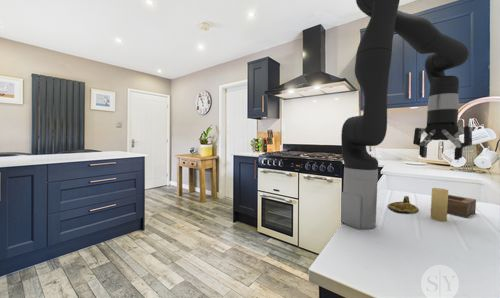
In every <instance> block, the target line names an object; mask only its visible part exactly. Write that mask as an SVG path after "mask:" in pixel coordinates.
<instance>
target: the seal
mask: <svg viewBox="0 0 500 298" xmlns="http://www.w3.org/2000/svg"><path fill="white" fill-rule="evenodd" d="M409 197H410V196H409V195H408V196H407V195H404V197H403V199H402V200H403V201H394V202H391V203H389V204H387V208H389V210H390V211H391V212H394V213H397V214H404V215H405V214H406V215H412V214H413V215H414V214H417V213H419V211H420V210H419V208H418V207H417V205H415V204H412V203H411V202H410V198H409Z"/></svg>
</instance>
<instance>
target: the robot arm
mask: <svg viewBox="0 0 500 298" xmlns="http://www.w3.org/2000/svg"><path fill="white" fill-rule="evenodd" d="M400 1H401V0H355V3H356V6H357V7H358V8H359V10H360V11H361V12H362V13H363V14H364V15H365V16H368V17H370V19H369V22H368V24H367V27H366V28H365V30H364V32H363V34H362V37H361V39H360V42H359V43H358V47H357V50H356V55H355V63H354V76H355V79H356V80H357V83H358V85H359V86H360V89H361V91H362V93H363V97H364V98H363V99H364V105H363V111H362V112H363V114H362V115H356V116H350V117H348V118H346V120H345V121H344V123H343V124H342V127H341V136H340V137H341V157H342V160H343V163H344V165H343V167H344V168H343V190H342V191H341V201H340V202H341V203H340V204H341V206H340V209H341V211H340V222H341V223H343V222H344V223H343V224H345V225H347V226H350V227H353V228H354V229H355V228H356V229H357V230H360V229H365V230H366V229H374V228H376V225H377V202H378V201H377V200H378V182H379V181H378V178H379V161H378V159H377V158H375V157H374V156H372V155H371V154H369V152H368V149H367V147H376V146H379V145H380V144H382V143H383V141H384V140H385V139H386V136H387V135H386V134H387V129H388V89H389V88H388V87H389V78H390V77H389V76H390V70H391V64H392V63H391V62H392V56H393V55H392V54H393V40H394V34H397V35H398V36H399V37H401V39H403V40H404V41H406V43H407V44H408V45H409V46H411V48H413V49H414V50H415V52H417V53H418V54H420V55H427V54H428V55H427V57H426V59H425V60H424V70H425V72H426V76H427V80H428V83H429V93H428V94H429V95H428V102H427V110H426V111H427V113H426V127H423V128H422V127H415V129H414V135H413V140H412V141H413V145H416V146H419V151H418V152H419V153H418V154H419V156H420V157H421V158H426V157H427V146H428V144H430V143H431V142H432V141H450V142H451V143H452V144H453V145H454V146H455V147H454V155H453V156H454V158H453V159H454V160H455V161H459V160H460V159H462V157H463V155H464V154H463V153H464V152H463V149H464V148H465V147H470V146H472V145H473V131H472V130H473V128H472V126H471V125H470V126H469V125H466V126H458V123H459V122H458V121H459V108H460V103H459V102H460V101H459V89H460V88H459V87H460V80H459V77H458V76H457V75H446V74H445V71H447V70H449V69H453V68H458V67H459V66H462V65H463V64H465V63H466V62H467V60H468V58H469V56H470V52H469V48H468V47H467V45H466V44H464V43H463V42H462V41H460V40H458V39H456V38H454V37H451V36H449V35H448V34H445V33H443V32H441V31H440V30H439V29H438V28H437V27H436V26H435V25H434V24H433V23H432V22H431V21H429V20H428V19H427V18H425V17H423V16H421V15H416V14H411V13H408V12H404V11H401V10H399V6H400ZM459 131H460V133H461V134H463V142H461V140H459V138H458V137H457V136H456V134H457V133H459ZM424 133H426V134H427V135H426V136H425V137H424V138H423V140H422V135H423V134H424ZM421 140H422V141H421Z"/></svg>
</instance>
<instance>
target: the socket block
mask: <svg viewBox="0 0 500 298" xmlns="http://www.w3.org/2000/svg"><path fill="white" fill-rule="evenodd" d="M476 207H477V199H475V198H469V197H464V196H460V195H459V196H457V195H452V194H448V206H447V215H448V214H449V215H453V216H458V217H462V218H466V219H467V218H469V217H471V216H473V215H474V214H476V210H477V209H476Z"/></svg>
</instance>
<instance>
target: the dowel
mask: <svg viewBox="0 0 500 298" xmlns="http://www.w3.org/2000/svg"><path fill="white" fill-rule="evenodd" d="M448 195H449V189H446V188H440V187H432V188H431V200H430V201H431V203H430V219H431V220H434V221H437V222H447V221H448V219H447V218H448V213H447V206H448Z"/></svg>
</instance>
